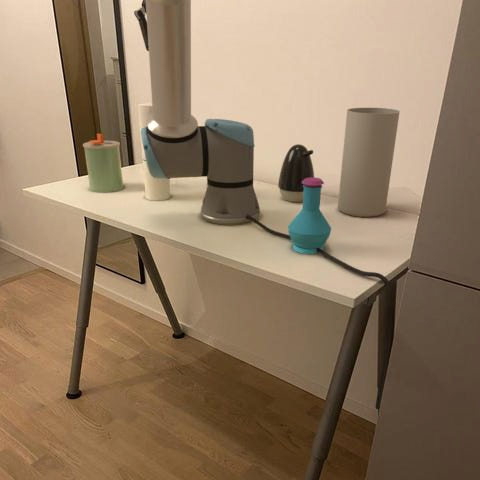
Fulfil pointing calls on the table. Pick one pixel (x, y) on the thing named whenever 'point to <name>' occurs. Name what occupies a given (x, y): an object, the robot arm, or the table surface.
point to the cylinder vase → (367, 160)
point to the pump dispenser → (295, 173)
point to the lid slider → (100, 139)
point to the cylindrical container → (153, 186)
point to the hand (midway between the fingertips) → (162, 80)
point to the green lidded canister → (104, 166)
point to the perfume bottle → (310, 220)
